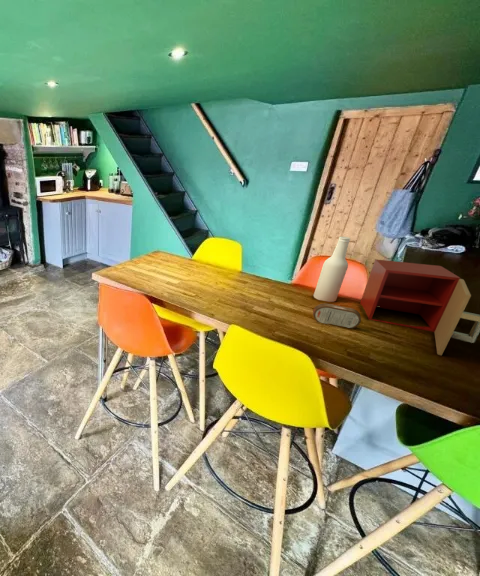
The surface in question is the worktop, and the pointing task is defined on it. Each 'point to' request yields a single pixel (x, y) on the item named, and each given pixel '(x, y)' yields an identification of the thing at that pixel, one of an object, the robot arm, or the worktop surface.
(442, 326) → the door
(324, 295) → the alcohol
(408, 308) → the red cabinet
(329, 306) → the tin
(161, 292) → the worktop surface
